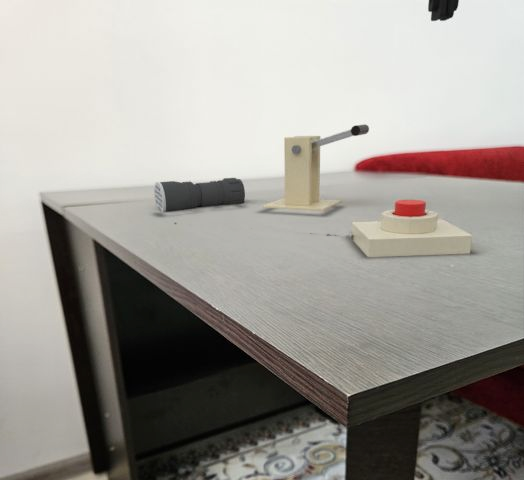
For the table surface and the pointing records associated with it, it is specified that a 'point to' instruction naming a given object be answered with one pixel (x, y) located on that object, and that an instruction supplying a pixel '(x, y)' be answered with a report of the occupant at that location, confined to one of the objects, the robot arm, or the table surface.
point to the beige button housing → (410, 236)
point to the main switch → (341, 136)
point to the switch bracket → (302, 176)
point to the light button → (410, 208)
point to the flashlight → (198, 194)
